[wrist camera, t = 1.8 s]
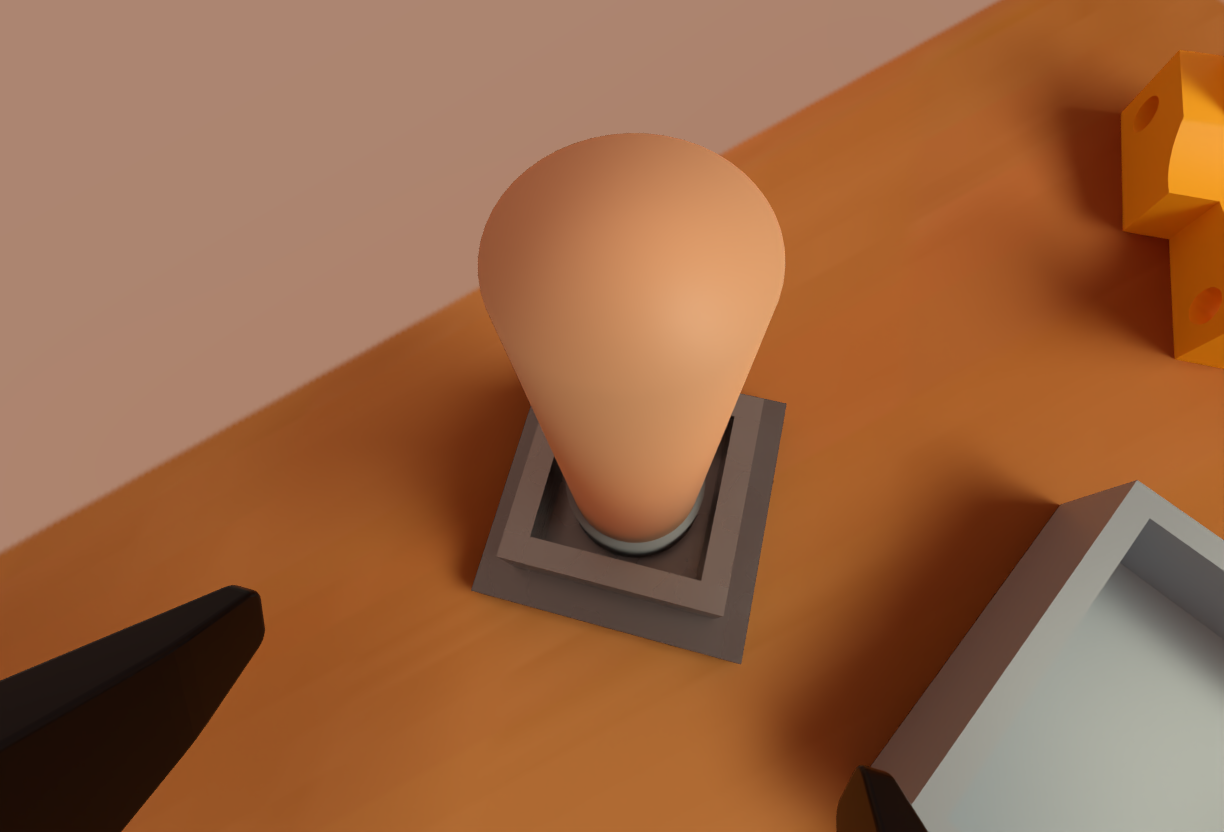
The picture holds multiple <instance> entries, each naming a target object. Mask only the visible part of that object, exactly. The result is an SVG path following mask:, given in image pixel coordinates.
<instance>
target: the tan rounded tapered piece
mask: <svg viewBox="0 0 1224 832" xmlns="http://www.w3.org/2000/svg"><path fill="white" fill-rule="evenodd" d="M784 273H785V248H784V243H783V238H782V233H781V229H780V227H779V224H778V221H777V218H776V216H775V214H774V212H773V210H772V208H771V206H770V204H769V203H768V201H767V199H766V198H765V196H764V195H763V194H762V192H761V191H760V190H759V188H758V187H757V186H756V185H755V184H754V183H753V182H752V181H751V180H750V178H749V177H748V176H747V175H746V174H745V173H743V172H742V171H741V170H740V169H738V168H737V167H736V166H735V165H733V164H732V163H731V162H729V161H728V160H726V159H724V158H723V157H721V156H720V155H718V154H716V153H714V152H712V151H710V150H708V149H706V148H704V147H702V146H699V145H696V144H694V143H690V142H688V141H685V140H682V139H677V138H673V137H668V136H664V135H655V134H646V133H624V134H613V135H605V136H600V137H595V138H590V139H587V140H584V141H581V142H577V143H574V144H571V145H569V146H567V147H564V148H562V149H560V150H557V151H555V152H554V153H552V154H550V155H549V156H546V157H545V158H543V159H541V160H540V161H538V162H537V163H536V164H534V165H533V166H532V167H530V168H529V169H527V170H526V171H525V172H524V173H523V174H522V175H520V176H519V177H518V178H517V179H516V180H515V181H514V182H513V183H512V184H511V185H510V187H509V188H508V189H507V190H506V191H505V192H504V194H503V195H502V196H501V198H500V199H499V201H498V202H497V204H496V205H495V207H494V209H493V210H492V212H491V214H490V217H489V219H488V221H487V223H486V226H485V228H484V232H483V235H482V238H481V242H480V248H479V255H478V278H479V284H480V291H481V294H482V297H483V301H484V304H485V307H486V310H487V312H488V314H489V316H490V318H491V320H492V323H493V325H494V327H495V329H496V331H497V333H498V335H499V338H500V340H501V342H502V344H503V346H504V348H505V351H506V353H507V355H508V357H509V359H510V361H511V364H512V366H513V368H514V370H515V372H516V374H517V377H518V379H519V381H520V383H521V385H522V387H523V389H524V392H525V394H526V396H527V398H528V400H529V402H530V405H531V407H532V409H533V411H534V413H535V415H536V418H537V420H538V422H539V424H540V426H541V428H542V431H543V433H544V435H545V437H546V439H547V441H548V443H549V446H550V448H551V450H552V452H553V454H554V456H555V459H556V461H557V463H558V465H559V467H560V469H561V472H562V474H563V476H564V478H565V480H566V491H567V497H568V500H569V503H570V506H571V508H572V510H573V513H574V515H575V517H576V518H577V520H578V522H579V524H580V526H581V528H582V529H583V531H584V532H585V533H586V535H587V536H588V537H589V538H590V539H591V540H592V541H593V542H594V543H596V544H597V545H598V546H600V547H601V548H603V549H604V550H606V551H608V552H610V553H613V554H616V555H619V556H624V557H630V558H641V557H649V556H653V555H656V554H659V553H662V552H664V551H666V550H668V549H670V548H671V547H672V546H674V545H675V544H677V543H678V542H679V541H680V540H681V539H682V538H683V537H684V536H685V534H686V533H687V532H688V531H689V529H690V527H691V526H692V524H693V522H694V520H695V518H696V515H697V513H698V511H699V509H700V507H701V504H702V501H703V497H704V492H705V477H706V475H707V472H708V470H709V468H710V465H711V463H712V460H713V458H714V455H715V453H716V451H717V448H718V446H719V443H720V441H721V439H722V436H723V434H724V431H725V429H726V426H727V424H728V422H729V419H730V417H731V414H732V412H733V409H734V407H735V405H736V402H737V400H738V397H739V395H740V392H741V390H742V388H743V385H744V383H745V380H746V378H747V375H748V373H749V371H750V368H751V366H752V363H753V361H754V359H755V356H756V354H757V351H758V349H759V346H760V344H761V342H762V339H763V337H764V334H765V332H766V329H767V327H768V325H769V322H770V320H771V317H772V315H773V312H774V310H775V308H776V305H777V303H778V300H779V297H780V293H781V290H782V286H783V282H784Z"/></svg>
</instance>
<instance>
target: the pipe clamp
mask: <svg viewBox="0 0 1224 832" xmlns="http://www.w3.org/2000/svg"><path fill="white" fill-rule="evenodd" d="M1121 148H1122V206H1123V231H1124V232H1130V233H1136V234H1141V235H1147V236H1153V237H1158V238H1164V239H1169V250H1170V272H1171V293H1172V314H1173V336H1174V357H1175V359H1176V360H1181V361H1186V362H1191V363H1196V364H1201V365H1206V366H1211V367H1216V368H1222V369H1224V56H1219V55H1213V54H1206V53H1199V52H1192V51H1185V50H1179V51H1178V52H1177V53H1176V54H1175V55H1174V56H1173V57H1172V58H1171V60H1170V61H1169V62H1168V63H1167V64H1166V65H1165V66H1164V67H1163V68H1162V69H1161V70H1160V71H1159V73H1158V74H1157V75H1156V76H1155V77H1154V78H1153V79H1152V80H1151V81H1150V82H1149V83H1148V84H1147V85H1146V87H1145V88H1144V89H1143V90H1142V91H1141V92H1140V93H1139V94H1138V95H1137V96H1136V97H1135V98H1134V99H1133V101H1132V102H1131V103H1130V104H1129V105H1128V106H1127V107H1126V108H1125V109H1124V110H1123V111H1122V112H1121Z"/></svg>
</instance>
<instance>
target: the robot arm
mask: <svg viewBox="0 0 1224 832" xmlns="http://www.w3.org/2000/svg"><path fill="white" fill-rule="evenodd" d="M264 633H265V625H264V618H263V611H262V604H261V598H260V595H259V594H258V593H257V592H256V591H254V590H251V589H248V588H244V587H241V586H236V585H231V586H227V587H224V588H221V589H219V590H217V591H214V592H212V593H209V594H207V595H205V596H202V597H200V598H197V599H195V600H193V601H190V602H188V603H185V604H183V605H181V606H178V607H176V608H173V609H171V610H169V611H166V612H164V613H161V614H159V615H157V616H154V617H152V618H150V619H147V620H145V621H142V622H140V623H138V624H135V625H133V626H130V627H128V628H126V629H123V630H121V631H118V632H116V633H114V634H111V635H109V636H106V637H104V638H102V639H99V640H97V641H94V642H92V643H90V644H87V645H85V646H82V647H80V648H78V649H75V650H73V651H70V652H68V653H66V654H63V655H61V656H58V657H56V658H54V659H51V660H49V661H46V662H44V663H42V664H39V665H37V666H34V667H32V668H30V669H27V670H25V671H22V672H20V673H18V674H15V675H13V676H10V677H8V678H6V679H3V680H1V681H0V832H121V831H122V830H123V829H124V828H125V827H126V825H127V824H128V823H129V822H130V820H131V819H132V818H133V817H134V815H135V814H136V813H137V812H138V811H139V809H140V808H141V807H142V806H143V804H144V803H145V802H146V801H147V799H148V798H149V797H150V796H151V795H152V793H153V792H154V791H155V790H156V788H157V787H158V786H159V785H160V784H161V782H162V781H163V780H164V779H165V777H166V776H167V775H168V774H169V772H170V771H171V770H172V769H173V768H174V766H175V765H176V764H177V763H178V761H179V760H180V759H181V758H182V756H183V755H184V754H185V753H186V751H187V750H188V749H189V748H190V746H191V745H192V744H193V742H194V741H195V740H196V739H197V737H198V736H199V734H200V733H201V732H202V730H203V729H204V727H205V726H206V725H207V723H208V722H209V720H210V719H211V717H212V716H213V714H214V713H215V711H216V710H217V708H218V707H219V705H220V704H221V702H222V701H223V700H224V698H225V697H226V695H227V694H228V692H229V691H230V689H231V688H232V686H233V685H234V683H235V682H236V680H237V679H238V677H239V676H240V674H241V673H242V671H243V670H244V668H245V667H246V666H247V664H248V663H249V661H250V660H251V658H252V657H253V655H254V654H255V652H256V651H257V649H258V648H259V646H260V644H261V642H262V640H263V637H264ZM836 832H928V830H927V829H926V827H925V826H924V824H923V823H922V821H921V819H920V818H919V816H918V815H917V813H916V811H915V810H914V808H913V807H912V805H911V804H910V802H909V800H908V799H907V797H906V796H905V794H904V792H903V791H902V789H901V788H900V786H899V785H898V783H897V781H896V780H895V778H894V777H893V776H892V775H891V774H889V773H888V772H886V771H883V770H879V769H876V768H872V767H869V766H865V765H860V766H858V767H857V768H856V769H855V771H854V772H853V774H852V776H851V778H850V780H849V782H848V784H847V786H846V788H845V790H844V792H843V794H842V796H841V798H840V800H839V803H838V808H837V816H836Z"/></svg>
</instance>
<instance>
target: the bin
mask: <svg viewBox="0 0 1224 832" xmlns="http://www.w3.org/2000/svg"><path fill="white" fill-rule="evenodd" d="M871 767H872V768H876V769H879V770H883V771H886V772H888V773H889V774H891V775H892V776H893V777H894V778H895V780H896V781H897V783H898V785H899V786H900V788H901V789H902V791H903V792H904V794H905V796H906V797H907V799H908V800H909V802H910V804H911V805H912V807H913V808H914V810H915V811H916V813H917V815H918V816H919V818H920V819H921V821H922V823H923V824H924V826H925V827H926V829H927V830H928V832H1224V540H1222V539H1221V538H1220V537H1218V536H1217V535H1215V534H1214V533H1212V532H1211V531H1210V530H1208V529H1207V528H1205V527H1204V526H1202V525H1201V524H1199V523H1198V522H1197V521H1195V520H1194V519H1192V518H1191V517H1189V516H1188V515H1187V514H1185V513H1184V512H1182V511H1181V510H1179V509H1178V508H1177V507H1175V506H1174V505H1172V504H1171V503H1169V502H1168V501H1167V500H1165V499H1164V498H1162V497H1161V496H1159V495H1158V494H1156V493H1155V492H1154V491H1152V490H1151V489H1149V488H1148V487H1146V486H1145V485H1144V484H1142V483H1141V482H1139V481H1138V480H1136V481H1133V482H1130V483H1126V484H1123V485H1120V486H1117V487H1114V488H1111V489H1108V490H1104V491H1101V492H1098V493H1095V494H1092V495H1089V496H1086V497H1082V498H1079V499H1076V500H1073V501H1070V502H1067V503H1064V504H1061V505H1060V506H1059V507H1058V509H1057V510H1056V511H1055V513H1054V514H1053V516H1052V517H1051V518H1050V520H1049V521H1048V522H1047V524H1046V525H1045V527H1044V528H1043V529H1042V531H1041V532H1040V534H1039V535H1038V536H1037V538H1036V539H1035V540H1034V542H1033V543H1032V545H1031V546H1030V547H1029V549H1028V550H1027V551H1026V553H1025V554H1024V556H1023V557H1022V558H1021V560H1020V561H1019V562H1018V564H1017V565H1016V567H1015V568H1014V569H1013V571H1012V572H1011V574H1010V575H1009V576H1008V578H1007V579H1006V580H1005V582H1004V583H1003V585H1002V586H1001V587H1000V589H999V590H998V591H997V593H996V594H995V596H994V597H993V598H992V600H991V601H990V602H989V604H988V605H987V607H986V608H985V609H984V611H983V612H982V614H981V615H980V616H979V618H978V619H977V620H976V622H975V623H974V625H973V626H972V627H971V629H970V630H969V631H968V633H967V634H966V636H965V637H964V638H963V640H962V641H961V642H960V644H959V645H958V647H957V648H956V649H955V651H954V652H953V654H952V655H951V656H950V658H949V659H948V660H947V662H946V663H945V665H944V666H943V667H942V669H941V670H940V671H939V673H938V674H937V676H936V677H935V678H934V680H933V681H932V682H931V684H930V685H929V687H928V688H927V689H926V691H925V692H924V694H923V695H922V696H921V698H920V699H919V700H918V702H917V703H916V705H915V706H914V707H913V709H912V710H911V711H910V713H909V714H908V716H907V717H906V718H905V720H904V721H903V722H902V724H901V725H900V727H899V728H898V729H897V731H896V732H895V734H894V735H893V736H892V738H891V739H890V740H889V742H888V743H887V745H886V746H885V747H884V749H883V750H882V751H881V753H880V754H879V756H878V757H877V758H876V760H875V761H874V762H873V764H872V765H871Z"/></svg>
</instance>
